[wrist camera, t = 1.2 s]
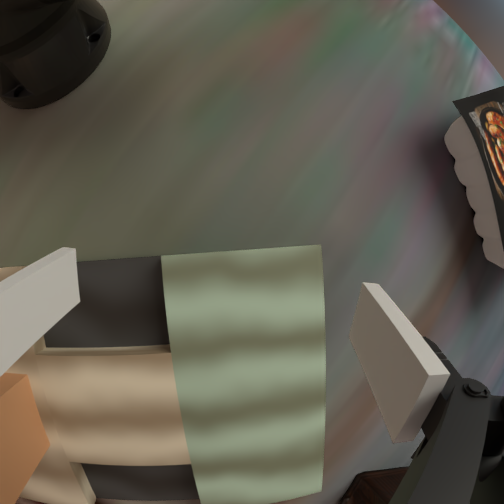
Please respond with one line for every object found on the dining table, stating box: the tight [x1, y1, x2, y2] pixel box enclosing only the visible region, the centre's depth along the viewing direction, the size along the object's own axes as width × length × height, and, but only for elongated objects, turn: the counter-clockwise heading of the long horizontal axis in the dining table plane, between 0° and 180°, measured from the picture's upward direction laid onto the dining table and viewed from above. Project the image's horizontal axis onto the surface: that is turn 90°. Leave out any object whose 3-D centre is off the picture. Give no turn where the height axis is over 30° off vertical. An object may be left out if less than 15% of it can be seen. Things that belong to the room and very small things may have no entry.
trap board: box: [0, 245, 326, 504], centre depth 25 cm, size 28×40×3 cm
